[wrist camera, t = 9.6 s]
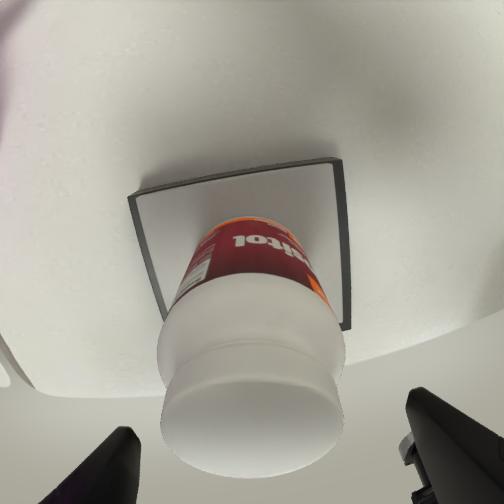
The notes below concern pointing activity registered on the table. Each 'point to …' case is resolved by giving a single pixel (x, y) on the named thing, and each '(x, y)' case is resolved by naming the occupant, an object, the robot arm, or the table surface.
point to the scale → (249, 204)
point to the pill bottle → (250, 356)
